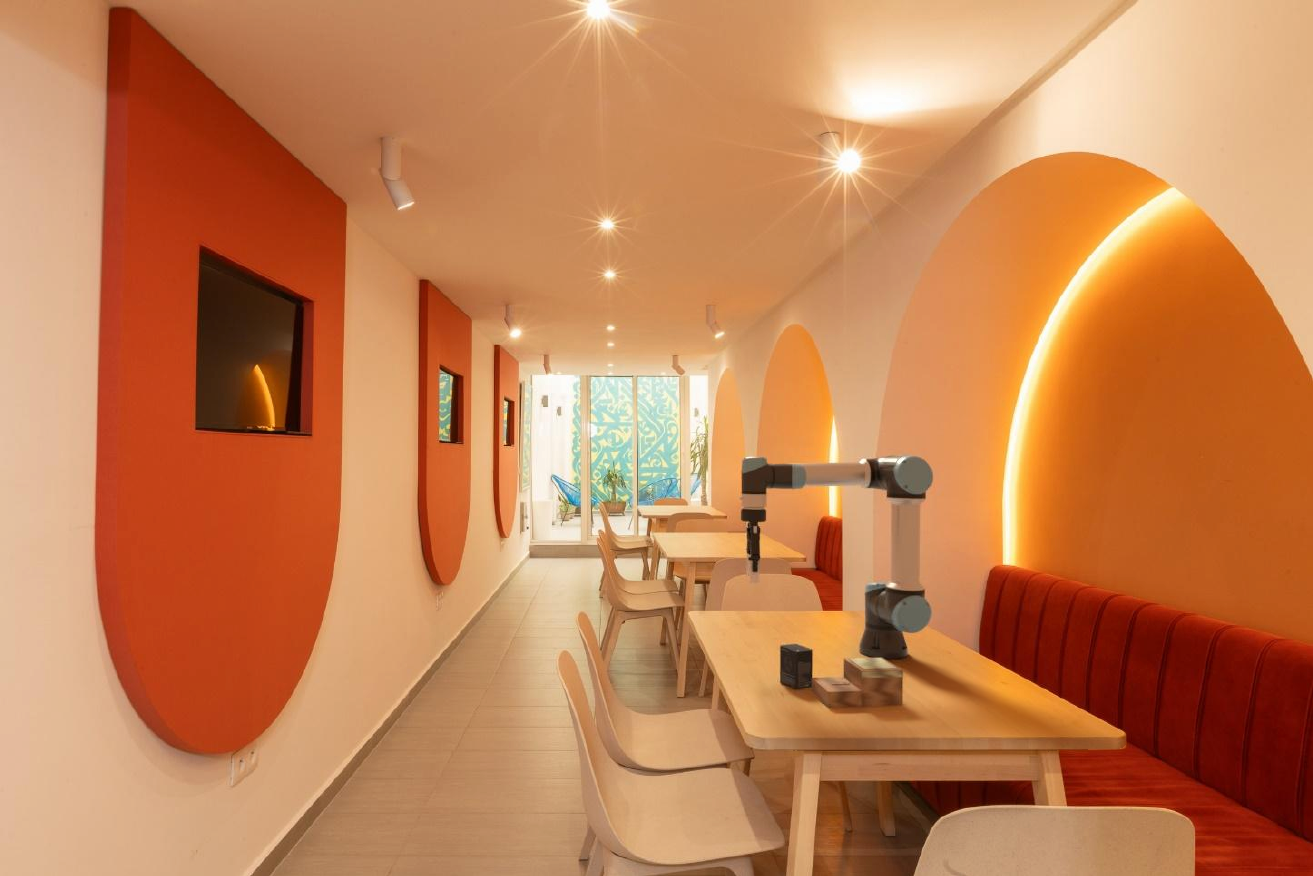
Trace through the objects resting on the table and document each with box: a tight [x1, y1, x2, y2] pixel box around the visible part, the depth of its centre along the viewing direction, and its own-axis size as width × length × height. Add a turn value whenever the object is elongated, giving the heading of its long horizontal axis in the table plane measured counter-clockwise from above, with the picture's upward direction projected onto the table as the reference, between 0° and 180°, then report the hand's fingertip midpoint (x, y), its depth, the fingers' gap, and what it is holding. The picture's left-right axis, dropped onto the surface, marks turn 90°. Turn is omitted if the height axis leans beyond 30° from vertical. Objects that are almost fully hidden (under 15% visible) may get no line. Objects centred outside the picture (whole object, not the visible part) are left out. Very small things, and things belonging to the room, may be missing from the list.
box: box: [779, 643, 814, 691], centre depth 204 cm, size 8×6×11 cm
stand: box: [811, 657, 904, 709], centre depth 193 cm, size 20×12×9 cm, turn 98°
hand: (752, 579), depth 220 cm, fingers open, 13 cm apart
